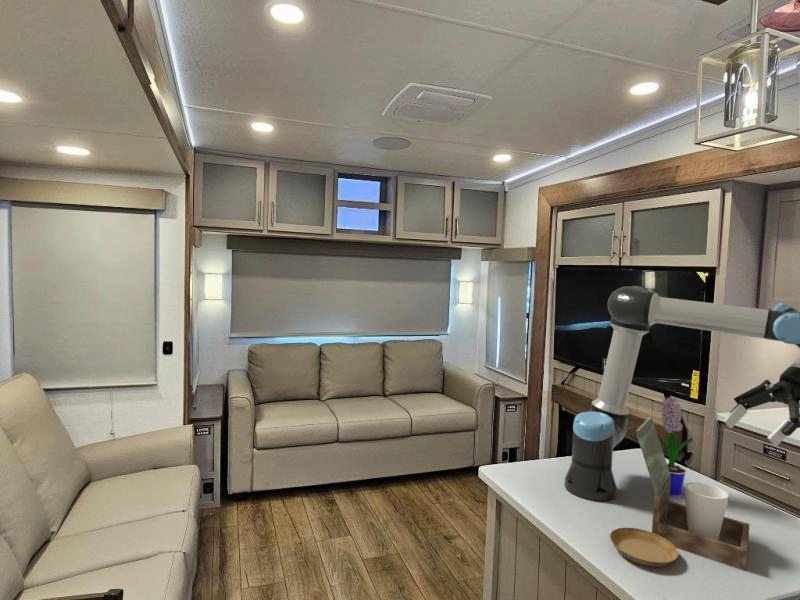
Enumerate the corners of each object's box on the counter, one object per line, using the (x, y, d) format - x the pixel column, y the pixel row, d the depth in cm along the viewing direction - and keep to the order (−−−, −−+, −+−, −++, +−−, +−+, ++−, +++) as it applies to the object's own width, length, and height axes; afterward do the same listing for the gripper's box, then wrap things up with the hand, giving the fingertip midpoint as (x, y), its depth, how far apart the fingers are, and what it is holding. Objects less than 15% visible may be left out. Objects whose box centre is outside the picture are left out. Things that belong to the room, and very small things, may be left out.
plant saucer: (692, 568, 110) (693, 557, 110) (641, 577, 106) (641, 565, 106) (643, 534, 124) (643, 524, 124) (595, 541, 120) (596, 531, 120)
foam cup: (710, 553, 116) (714, 501, 115) (673, 534, 124) (677, 485, 123) (732, 544, 120) (736, 494, 119) (695, 526, 128) (698, 479, 128)
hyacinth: (695, 499, 145) (702, 402, 144) (659, 494, 147) (665, 399, 146) (684, 486, 154) (691, 395, 152) (650, 482, 156) (656, 392, 154)
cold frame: (629, 531, 124) (635, 429, 123) (642, 509, 137) (648, 416, 136) (745, 570, 109) (753, 454, 108) (748, 541, 122) (756, 437, 121)
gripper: (865, 398, 111) (803, 461, 110) (770, 375, 136) (719, 427, 135) (847, 375, 110) (784, 439, 109) (754, 357, 135) (703, 409, 134)
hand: (748, 433), depth 122 cm, fingers open, 13 cm apart
